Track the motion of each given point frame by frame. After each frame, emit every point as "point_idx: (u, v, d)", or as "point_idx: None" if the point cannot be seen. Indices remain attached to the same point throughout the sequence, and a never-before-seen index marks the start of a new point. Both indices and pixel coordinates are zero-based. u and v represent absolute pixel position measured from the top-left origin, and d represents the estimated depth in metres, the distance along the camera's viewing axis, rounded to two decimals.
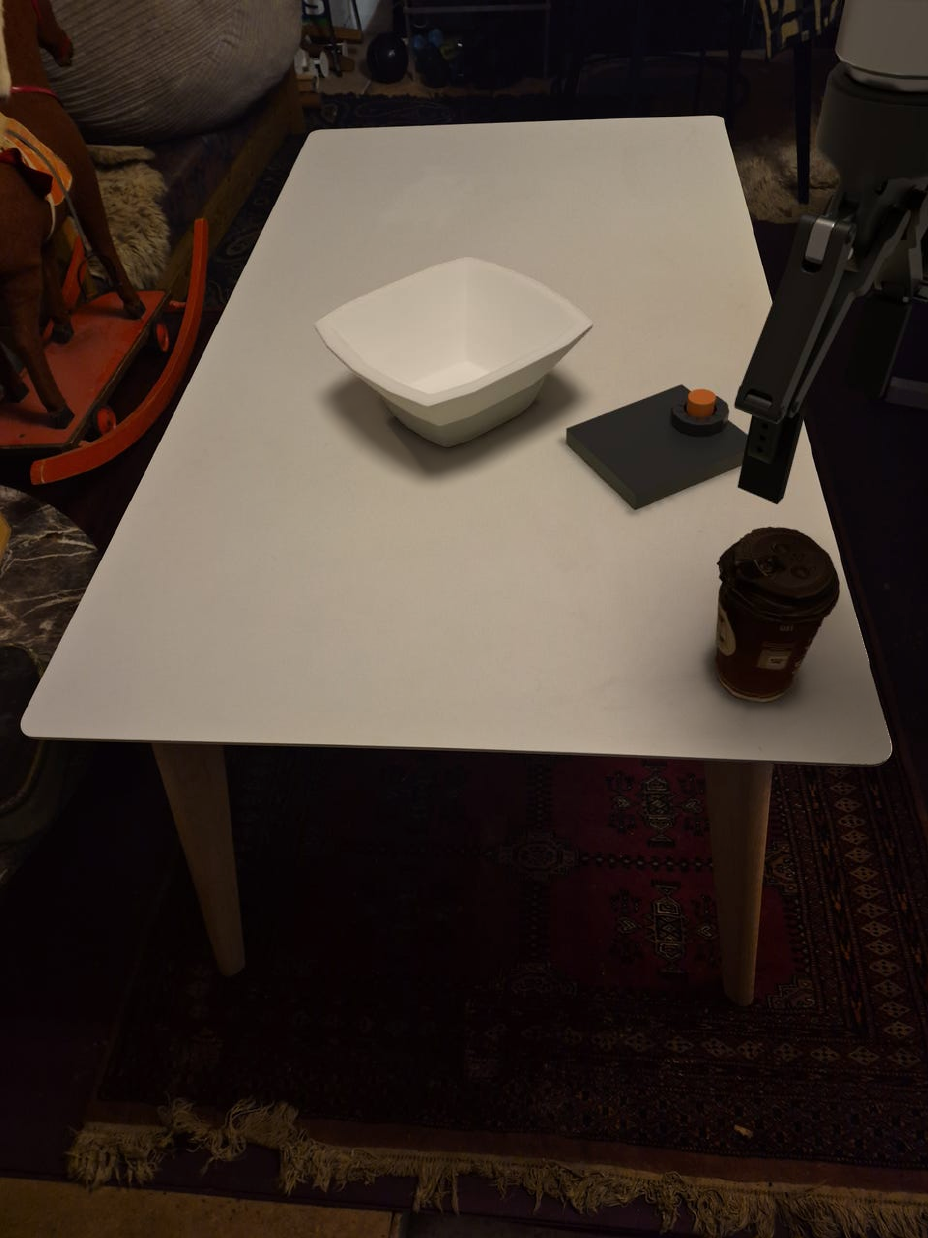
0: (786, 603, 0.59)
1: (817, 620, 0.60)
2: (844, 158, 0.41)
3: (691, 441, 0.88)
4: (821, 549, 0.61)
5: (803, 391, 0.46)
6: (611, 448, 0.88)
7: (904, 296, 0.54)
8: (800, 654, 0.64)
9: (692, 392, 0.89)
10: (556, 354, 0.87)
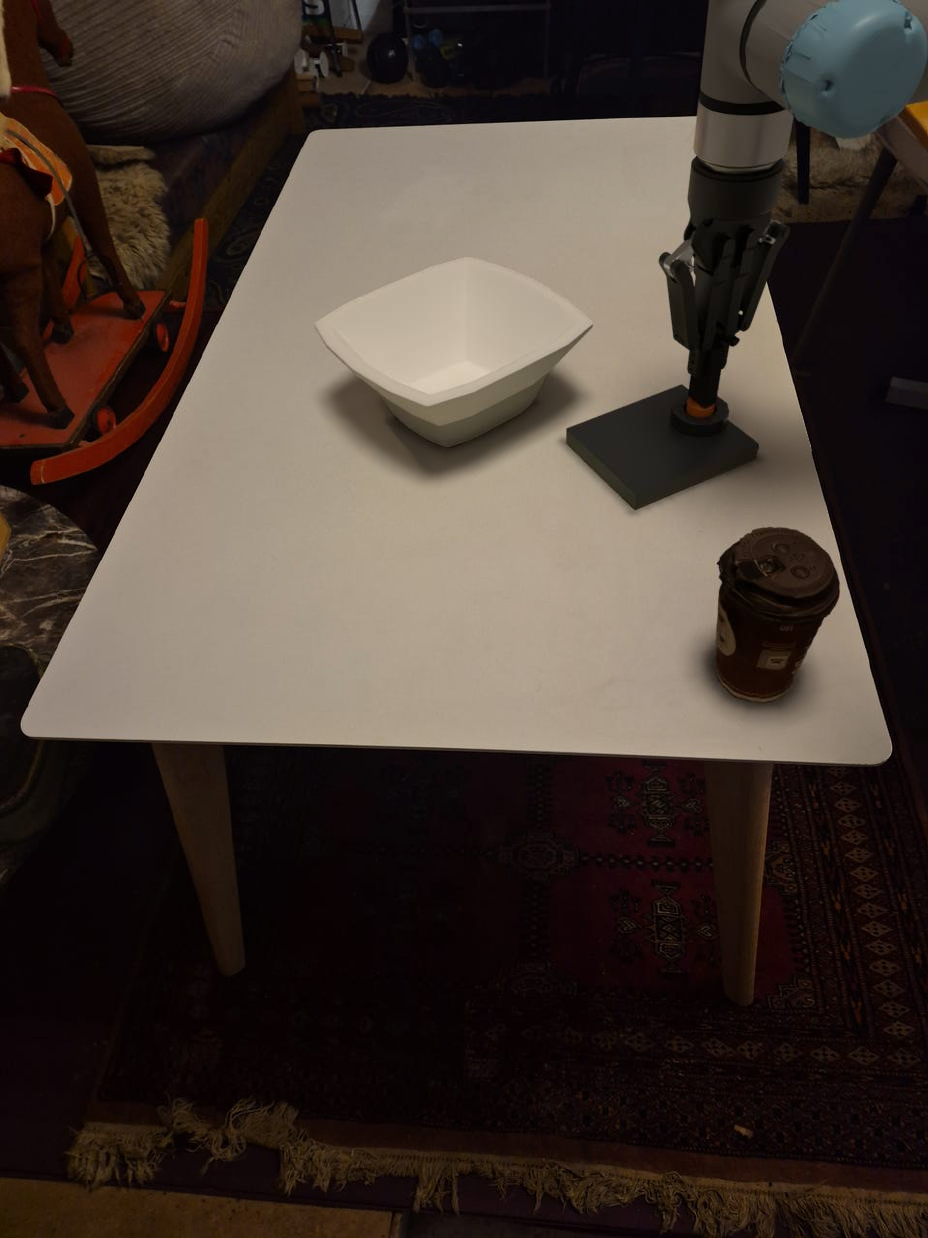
0: (786, 603, 0.59)
1: (817, 620, 0.60)
2: (691, 202, 0.73)
3: (691, 441, 0.88)
4: (821, 549, 0.61)
5: (709, 337, 0.81)
6: (611, 448, 0.88)
7: (722, 340, 0.83)
8: (800, 654, 0.64)
9: None
10: (556, 354, 0.87)
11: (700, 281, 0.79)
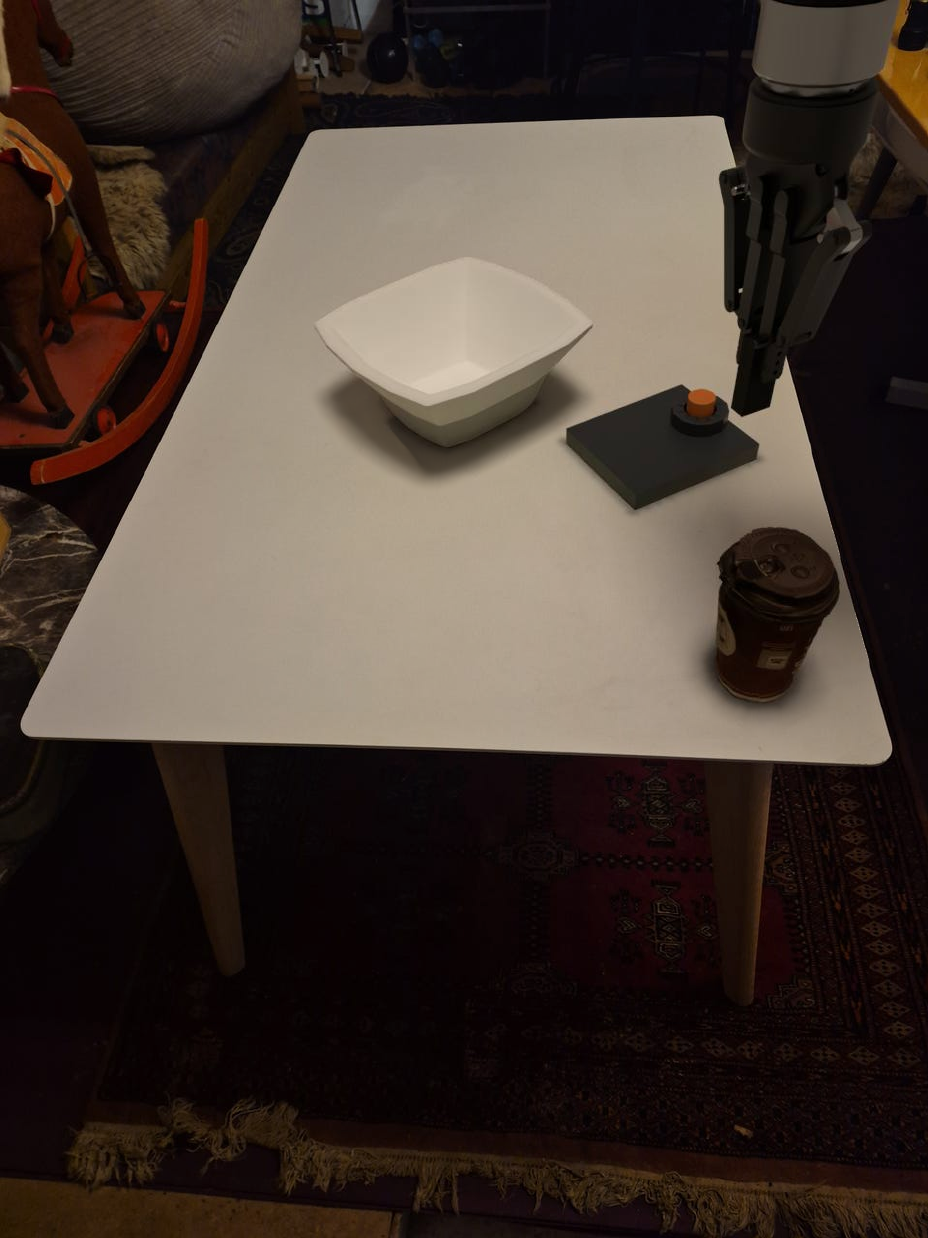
0: (787, 603, 0.59)
1: (817, 620, 0.60)
2: None
3: (691, 441, 0.88)
4: (821, 549, 0.61)
5: (744, 311, 0.64)
6: (611, 448, 0.88)
7: None
8: (800, 654, 0.64)
9: (692, 392, 0.89)
10: (556, 354, 0.87)
11: None
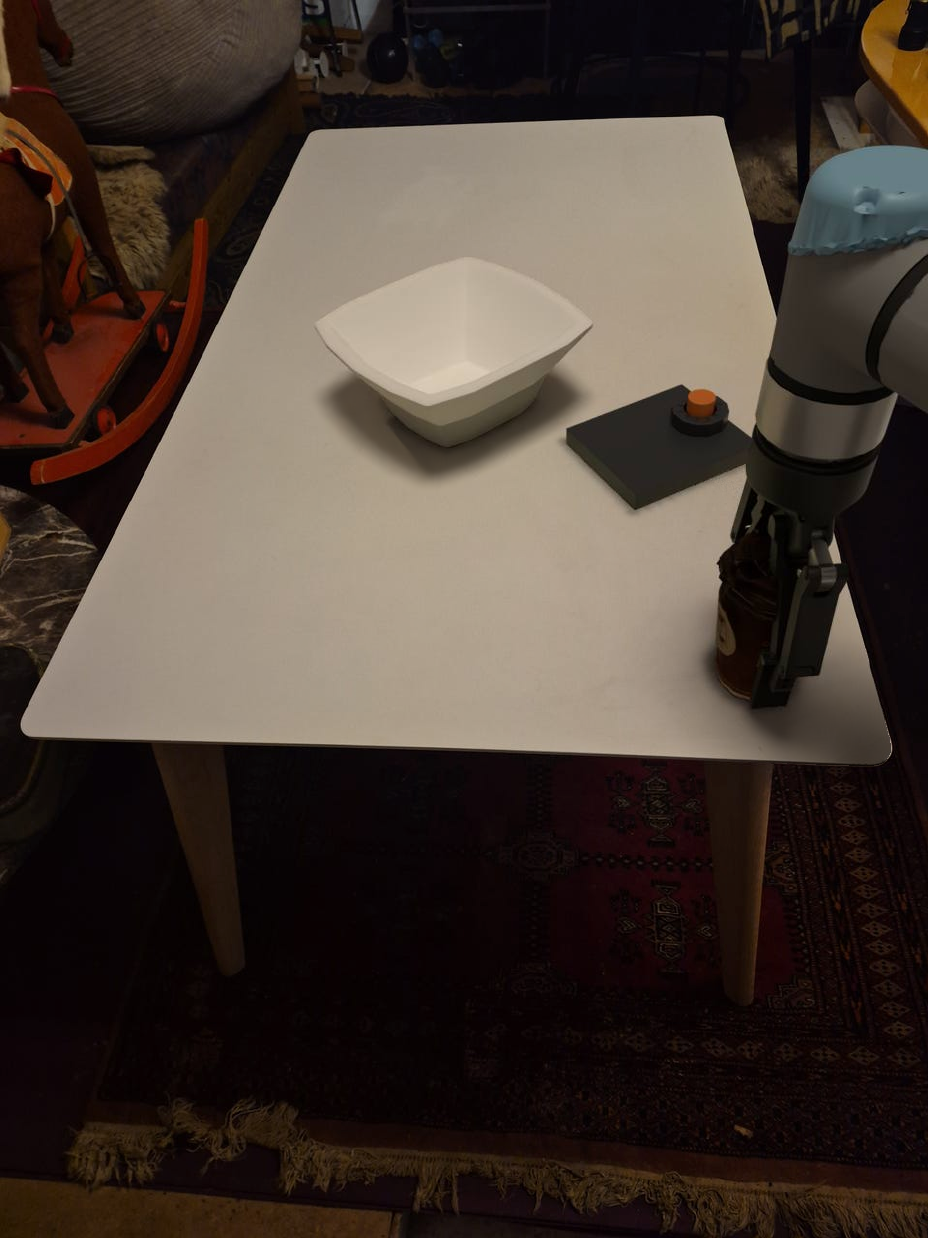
0: None
1: None
2: None
3: (691, 441, 0.88)
4: None
5: None
6: (611, 448, 0.88)
7: None
8: None
9: (692, 392, 0.89)
10: (556, 354, 0.87)
11: None
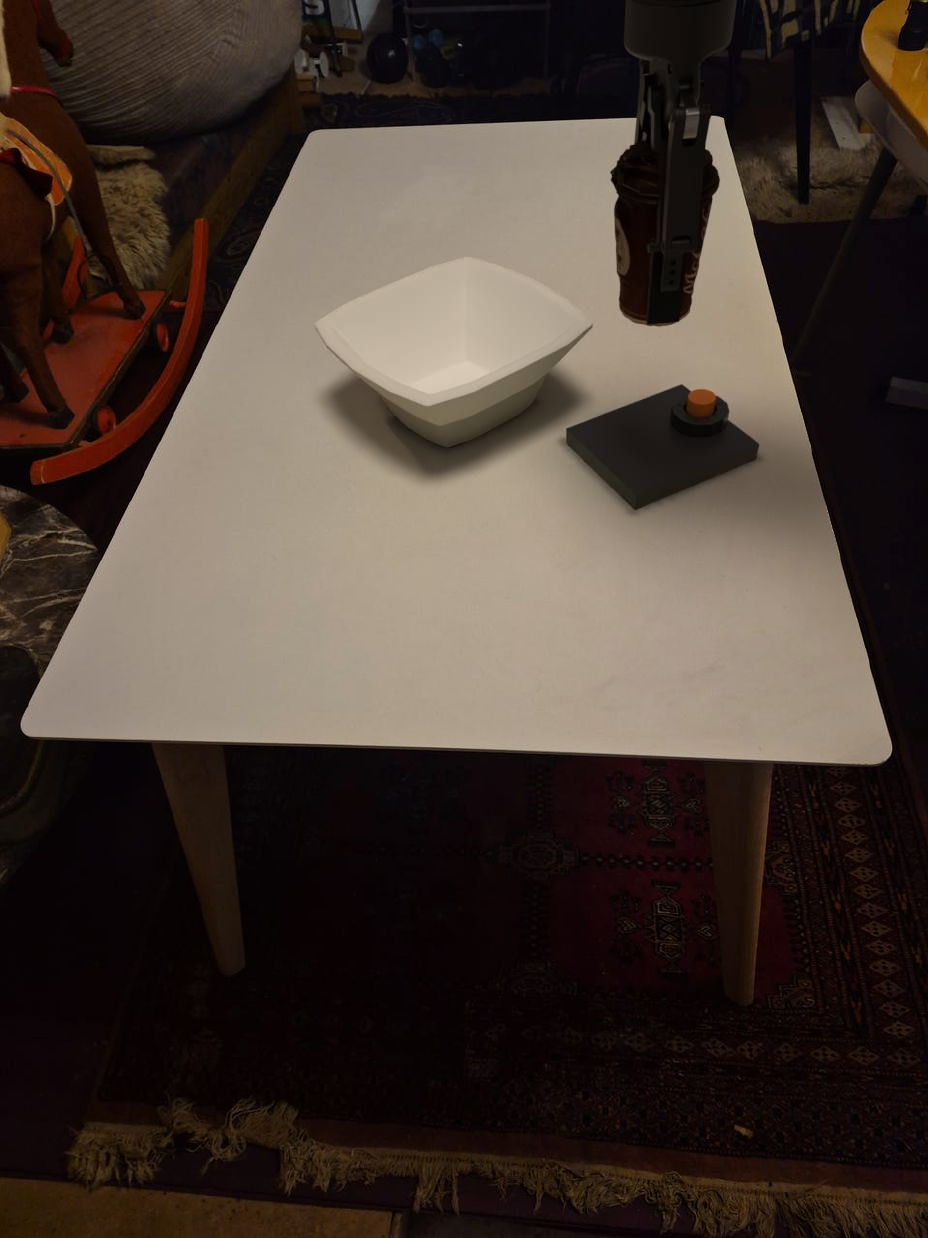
0: None
1: None
2: None
3: (691, 441, 0.88)
4: None
5: None
6: (611, 448, 0.88)
7: None
8: (687, 259, 0.70)
9: (692, 392, 0.89)
10: (556, 354, 0.87)
11: None
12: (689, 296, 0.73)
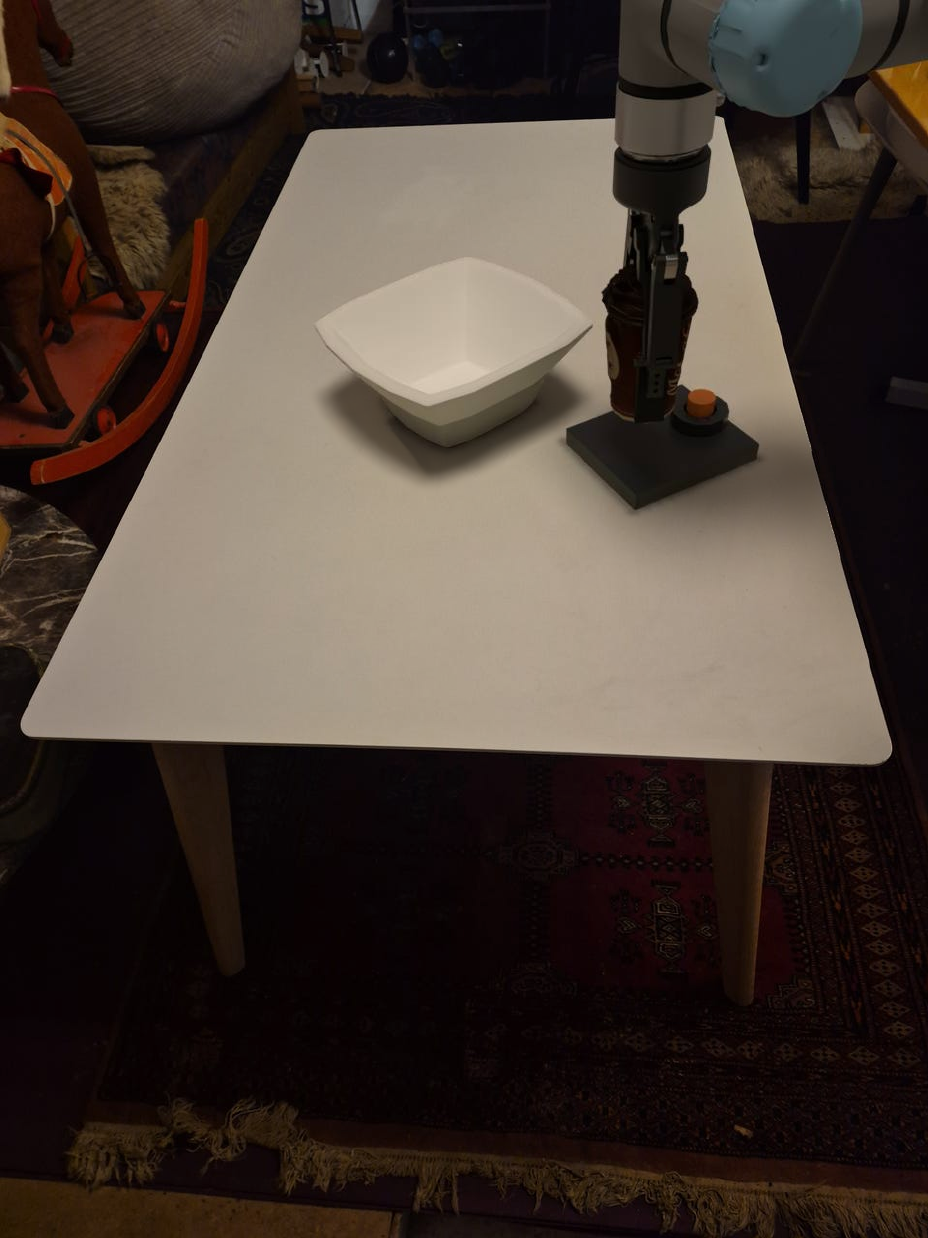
0: None
1: None
2: None
3: (691, 441, 0.88)
4: None
5: None
6: (611, 448, 0.88)
7: None
8: None
9: (692, 392, 0.89)
10: (556, 354, 0.87)
11: None
12: (672, 397, 0.82)
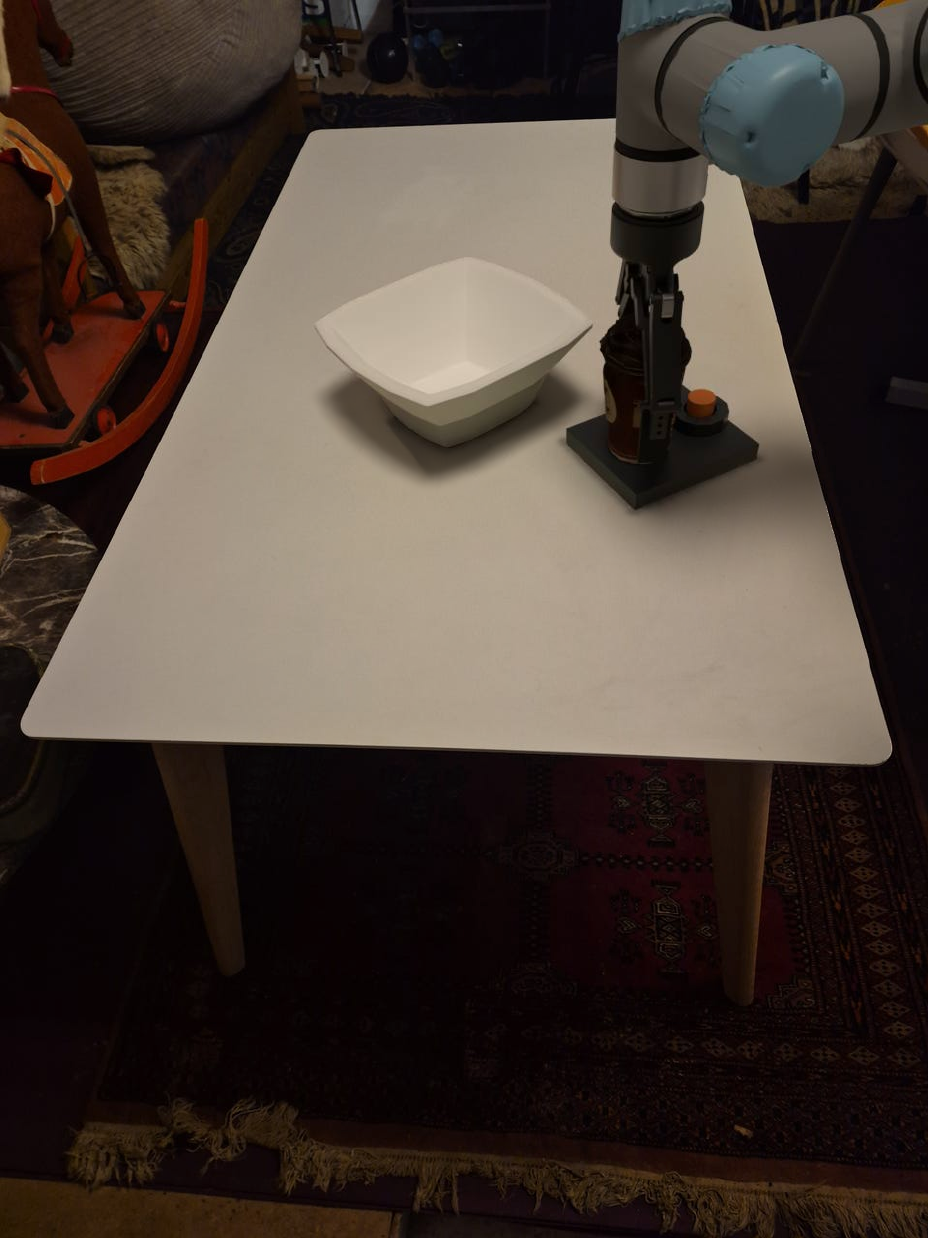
0: None
1: None
2: None
3: (691, 441, 0.88)
4: None
5: (620, 310, 0.85)
6: None
7: None
8: None
9: (692, 392, 0.89)
10: (556, 354, 0.87)
11: None
12: None
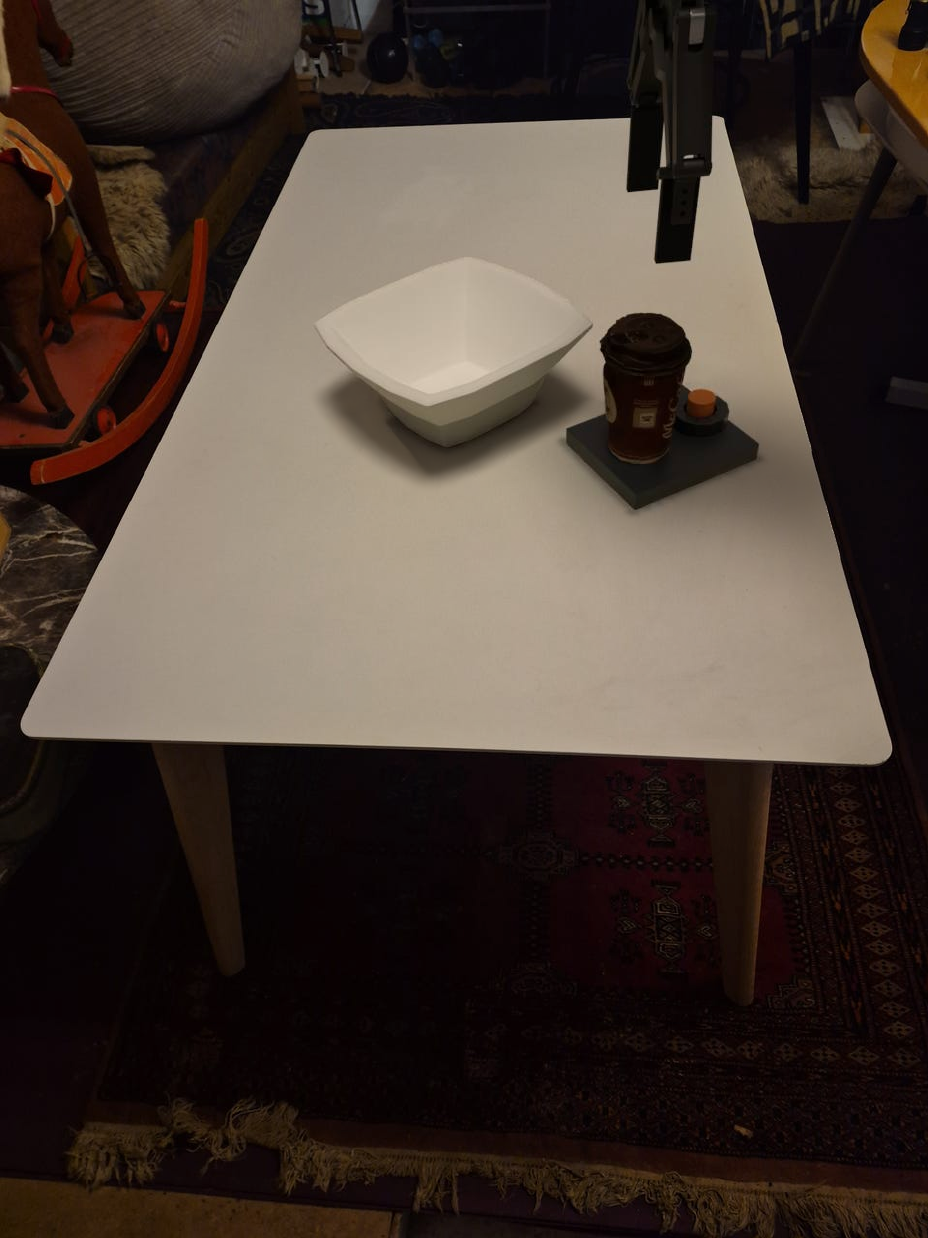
0: (647, 360, 0.77)
1: (671, 374, 0.78)
2: None
3: (691, 441, 0.88)
4: (677, 325, 0.79)
5: (633, 89, 0.70)
6: None
7: None
8: (665, 414, 0.82)
9: (692, 392, 0.89)
10: (556, 354, 0.87)
11: None
12: (667, 439, 0.86)
